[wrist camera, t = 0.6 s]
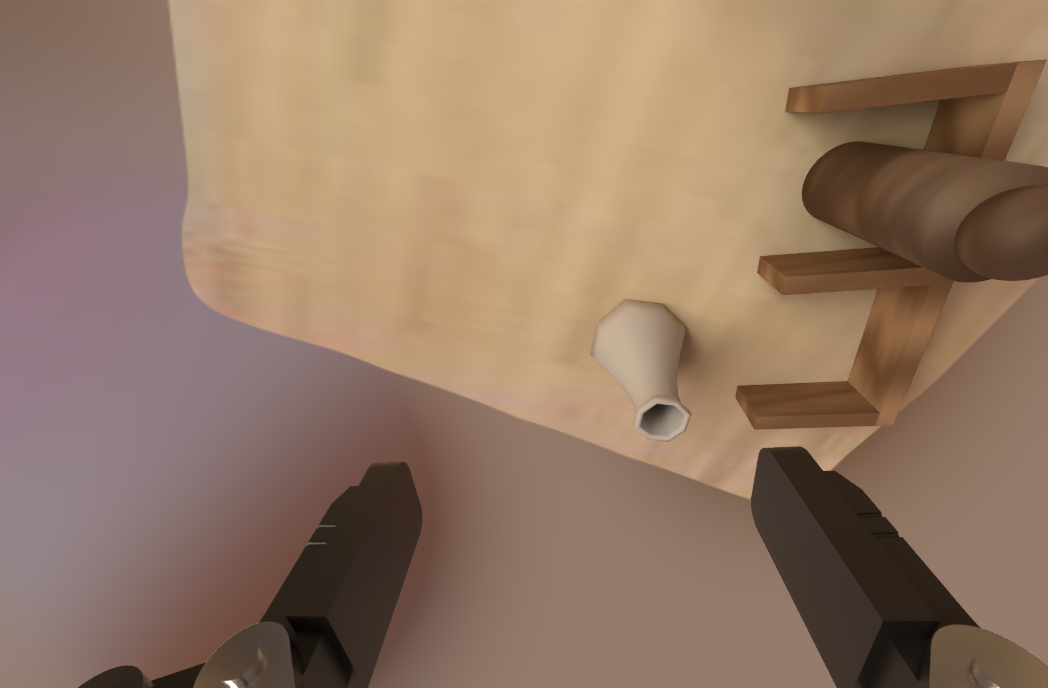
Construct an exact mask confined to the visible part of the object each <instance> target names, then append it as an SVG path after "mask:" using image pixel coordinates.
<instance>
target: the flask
mask: <svg viewBox="0 0 1048 688" xmlns="http://www.w3.org/2000/svg"><path fill="white" fill-rule="evenodd" d="M685 332H686V327H685V326H684V325H683V324H682V323H681V322H680V321H679V320H678V319H677V318H676V317H675V316H674V315H673V314H672V313H671V312H670V311H669V310H668V309H667V308H666V307H665V306H664V305H662V304H656V303H646V302H637V301H627V300H624V301H623V302H622V303H620V304H619V305H618V306H617V307H616V308H615V309H614V310H612V311H611V312H610V313H609V314H608V315H607V316H606V317H604V318H603V319H602V320H601V321H600V322H599V323H598V324H597V325H596V330H595V335H594V341H593V346H592V351H591V356H592V357H593V358H594V359H595V360H596V361H597V362H598V363H599V364H600V365H601V366H602V367H603V368H604V369H605V370H606V371H607V372H608V373H609V374H610V375H611V376H612V377H613V378H614V379H615V380H616V381H617V382H618V384H619V385H620V386H621V387H622V388H623V389H624V390H625V391H626V393H627V395H628V396H629V398H630V400H631V402H632V403H633V405H634V408H635V412H636V417H635V421H634V428H635V429H636V430H637V431H638V432H640V433H641V434H642V435H643V436H645V437H646V438H647V439H649V440H657V441H666V442H669V441H671V440H672V439H674V438H675V437H677V436H678V435H680V434H681V433H683V432H684V431H686V428H687V425H688V422H689V420H690V417H691V412H690V411H689V410H688V409H687V408H686V407H685V406H684V405H683V404H681V402H680V399H679V396H678V388H677V372H678V366H679V360H680V354H681V350H682V345H683V341H684V337H685Z"/></svg>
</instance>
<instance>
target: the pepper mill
mask: <svg viewBox="0 0 1048 688" xmlns="http://www.w3.org/2000/svg"><path fill="white" fill-rule="evenodd" d="M802 199H803V204H804V206H805V208H806V210H807V211H808V212H809V213H810V214H811V215H812V216H813V217H815V218H817V219H819V220H821V221H824V222H826V223H828V224H830V225H832V226H835V227H837V228H839V229H841V230H843V231H845V232H848V233H850V234H852V235H854V236H856V237H859V238H861V239H863V240H865V241H867V242H869V243H872V244H874V245H876V246H878V247H880V248H883V249H885V250H887V251H889V252H891V253H893V254H896V255H898V256H900V257H902V258H904V259H906V260H909V261H911V262H913V263H915V264H917V265H920V266H922V267H924V268H926V269H928V270H930V271H933V272H935V273H937V274H939V275H941V276H944V277H946V278H948V279H951V280H954V281H958V282H979V281H984V280H989V279H997V280H1006V281H1018V280H1028V279H1033V278H1038V277H1042V276H1045V275H1048V168H1047V167H1043V166H1036V165H1029V164H1022V163H1014V162H1007V161H1000V160H992V159H985V158H977V157H970V156H963V155H955V154H948V153H940V152H933V151H926V150H918V149H911V148H904V147H896V146H889V145H881V144H874V143H867V142H849V143H845V144H842V145H839V146H837V147H835V148H833V149H831V150H830V151H828V152H827V153H825V154H824V155H823V156H822V157H821V158H820V159H819V160H818V161H817V162H816V163H815V164H814V165H813V166H812V168H811V169H810V171H809V172H808V174H807V176H806V179H805V181H804V184H803V189H802Z"/></svg>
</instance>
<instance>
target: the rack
mask: <svg viewBox="0 0 1048 688" xmlns="http://www.w3.org/2000/svg"><path fill="white" fill-rule="evenodd" d="M1045 63H1046V60H1036V61H1024V62H1013V63H1001V64H989V65H977V66H968V67H960V68H952V69H944V70H935V71H927V72H919V73H911V74H902V75H894V76H886V77H877V78H869V79H861V80H853V81H844V82H836V83H828V84H820V85H811V86H803V87H795V88H789V94H788V100H787V105H786V111H787V112H808V113H826V112H835V111H844V110H853V109H862V108H871V107H879V106H888V105H897V104H906V103H915V102H924V101H932V100H941V101H940V104H939V107H938V110H937V113H936V116H935V119H934V122H933V125H932V128H931V131H930V134H929V137H928V140H927V143H926V146H925V149H924V150H926V151H933V152H940V153H948V154H955V155H963V156H970V157H977V158H985V159H992V160H1000V161H1004V160H1005V158H1006V155H1007V153H1008V150H1009V148H1010V146H1011V143H1012V141H1013V139H1014V136H1015V134H1016V131H1017V129H1018V127H1019V124H1020V122H1021V120H1022V117H1023V115H1024V112H1025V110H1026V108H1027V105H1028V103H1029V101H1030V98H1031V96H1032V93H1033V91H1034V89H1035V86H1036V84H1037V82H1038V79H1039V77H1040V74H1041V72H1042V70H1043V67H1044V65H1045ZM757 273H758V274H759V275H761V276H762V277H763V278H764V279H765V280H766V281H767V282H769V283H770V284H771V285H772V286H773V287H774V288H775V289H777V290H778V291H779V292H780V293H781V294H782V295H788V294H804V293H819V292H834V291H849V290H865V289H878V292H877V295H876V298H875V301H874V304H873V307H872V310H871V313H870V316H869V319H868V322H867V325H866V328H865V331H864V334H863V337H862V340H861V343H860V346H859V349H858V352H857V355H856V358H855V361H854V364H853V367H852V370H851V373H850V376H849V379H848V381H847V382H823V383H799V384H775V385H751V386H738V387H737V392H736V399H737V401H738V402H739V404H740V406H741V408H742V409H743V411H744V413H745V414H746V416H747V418H748V419H749V421H750V423H751V425H752V426H753V428H754V429H783V428H816V427H850V426H883V425H893V424H894V421H895V419H896V416H897V414H898V412H899V409H900V407H901V405H902V402H903V400H904V398H905V395H906V393H907V390H908V388H909V386H910V383H911V381H912V379H913V376H914V374H915V371H916V369H917V367H918V364H919V362H920V360H921V357H922V355H923V352H924V350H925V348H926V345H927V343H928V341H929V338H930V336H931V333H932V331H933V329H934V326H935V324H936V321H937V319H938V317H939V314H940V312H941V310H942V307H943V305H944V302H945V300H946V298H947V295H948V293H949V291H950V288H951V286H952V283H953V281H954V280H951V279H948V278H946V277H944V276H941V275H939V274H937V273H935V272H933V271H930V270H928V269H926V268H924V267H922V266H920V265H917V264H915V263H913V262H911V261H909V260H906V259H904V258H902V257H900V256H898V255H896V254H893V253H891V252H889V251H887V250H885V249H883V248H880V247H879V248H866V249H852V250H839V251H826V252H813V253H800V254H787V255H774V256H761V257H760V260H759V266H758V272H757Z"/></svg>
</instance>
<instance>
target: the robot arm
mask: <svg viewBox="0 0 1048 688" xmlns="http://www.w3.org/2000/svg"><path fill="white" fill-rule="evenodd" d="M751 508H752V514H753V518H754V522H755V525H756V527H757V529H758V532H759V534H760V535H761V538H762V539H763V541H764V543H765V546H766V548H767V549H768V552H769V553H770V555H771V557H772V559H773V561H774V563H775V565H776V567H777V569H778V571H779V573H780V575H781V577H782V579H783V581H784V583H785V585H786V587H787V589H788V591H789V593H790V595H791V597H792V599H793V601H794V603H795V605H796V607H797V609H798V611H799V613H800V615H801V617H802V619H803V621H804V623H805V625H806V627H807V629H808V631H809V633H810V635H811V637H812V639H813V641H814V643H815V645H816V647H817V649H818V651H819V653H820V655H821V657H822V659H823V661H824V663H825V665H826V667H827V669H828V671H829V673H830V675H831V677H832V679H833V681H834V683H835V685H836V686H837V688H1048V666H1047V665H1046V664H1044V663H1043V662H1042V661H1041V660H1040V659H1038V658H1037V657H1035V656H1034V655H1033V654H1031V653H1030V652H1028V651H1027V650H1026V649H1024V648H1022V647H1021V646H1019V645H1017V644H1015V643H1014V642H1012V641H1010V640H1008V639H1006V638H1004V637H1002V636H1000V635H998V634H995V633H993V632H990V631H988V630H985V629H981V628H980V627H979V626H978V625H977V624H976V623H975V622H974V621H973V619H972V618H971V617H970V616H969V615H968V614H967V613H966V611H965V610H964V609H963V608H962V607H961V606H960V604H959V603H958V602H957V601H956V600H955V599H954V597H953V596H952V595H951V594H950V593H949V591H948V590H947V589H946V588H945V587H944V586H943V585H942V583H941V582H940V581H939V580H938V579H937V577H936V576H935V575H934V574H933V573H932V572H931V570H930V569H929V568H928V567H927V566H926V564H925V563H924V562H923V561H922V560H921V558H920V557H919V556H918V555H917V554H916V553H915V551H914V550H913V549H912V548H911V547H910V546H909V544H908V543H907V542H906V541H905V540H904V538H902V537H899V535H898V531H897V530H896V529H895V528H894V527H893V526H892V525H891V523H890V522H889V521H888V520H887V519H886V518H885V517H882V515H881V512H880V510H879V509H878V508H877V507H876V506H875V504H874V503H873V502H872V501H871V500H870V499H869V497H868V496H867V495H866V494H865V493H864V492H863V490H862V489H860V488H859V487H857V486H856V485H855V484H853V483H851V482H850V481H849V480H847V479H846V478H845V477H843V476H842V475H840V474H839V473H837V472H836V471H823V470H822V469H821V468H820V466H819V465H818V464H817V463H816V461H815V460H814V459H813V457H812V456H811V455H810V454H809V452H808V451H807V450H806V449H804V448H803V447H800V446H798V447H774V448H762V449H761V450H760V452H759V456H758V461H757V467H756V473H755V479H754V485H753V491H752V497H751ZM421 527H422V509H421V504H420V501H419V498H418V495H417V492H416V488H415V485H414V482H413V479H412V476H411V472H410V469H409V467H408V465H407V464H406V463H405V462H386V463H373V464H372V465H371V466H370V467H369V468H368V470H367V472H366V473H365V475H364V477H363V479H362V481H361V482H360V484H359V486H351V487H349V488H348V489H347V490H346V491H345V492H344V493H343V494H342V495H341V496H340V497H338V498H337V499H336V500H335V501H334V502H333V503H332V504H331V506H330V508H329V509H328V511H327V513H326V514H325V516H324V517H323V519H322V521H321V522H320V524H319V528H318V529H316V530H315V532H314V534H313V535H312V537H311V539H310V540H309V545H308V546H306V547H305V549H304V550H303V552H302V553H301V555H300V557H299V559H298V560H297V562H296V563H295V565H294V567H293V568H292V570H291V572H290V573H289V575H288V577H287V578H286V580H285V582H284V583H283V585H282V586H281V588H280V590H279V592H278V593H277V595H276V596H275V598H274V600H273V601H272V603H271V605H270V606H269V608H268V610H267V611H266V613H265V614H264V616H263V617H262V619H261V620H260V622H259V623H256V624H253V625H251V626H248V627H246V628H244V629H242V630H241V631H239V632H237V633H236V634H234V635H233V636H231V637H230V638H229V639H228V640H226V641H225V642H224V643H223V644H222V645H221V646H220V647H219V648H218V649H217V650H216V651H215V652H214V653H213V654H212V655H211V656H210V658H209V659H208V660H207V662H206V663H203V664H200V665H197V666H194V667H191V668H188V669H185V670H182V671H179V672H176V673H173V674H170V675H167V676H164V677H161V678H158V679H155V680H152V681H150V680H149V679H148V678H147V677H146V676H145V675H144V674H143V673H142V672H141V671H140V670H139V669H138V668H137V667H134V666H120V667H116V668H113V669H110V670H107V671H105V672H103V673H101V674H99V675H97V676H95V677H93V678H92V679H90V680H89V681H87V682H86V683H84V684H82V685H81V686H80V687H78V688H368V685H369V682H370V679H371V677H372V674H373V671H374V668H375V665H376V662H377V659H378V656H379V653H380V650H381V647H382V644H383V641H384V638H385V636H386V633H387V630H388V627H389V624H390V621H391V618H392V615H393V612H394V609H395V606H396V603H397V600H398V597H399V595H400V592H401V589H402V585H403V583H404V580H405V577H406V574H407V571H408V568H409V565H410V562H411V559H412V556H413V553H414V551H415V548H416V545H417V542H418V539H419V536H420V532H421Z"/></svg>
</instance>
